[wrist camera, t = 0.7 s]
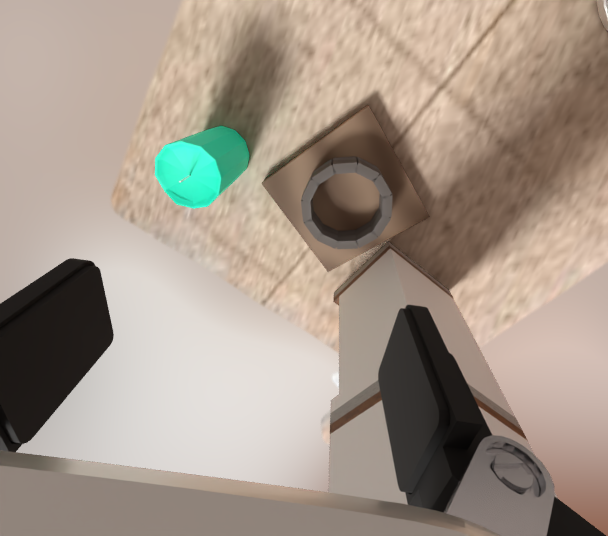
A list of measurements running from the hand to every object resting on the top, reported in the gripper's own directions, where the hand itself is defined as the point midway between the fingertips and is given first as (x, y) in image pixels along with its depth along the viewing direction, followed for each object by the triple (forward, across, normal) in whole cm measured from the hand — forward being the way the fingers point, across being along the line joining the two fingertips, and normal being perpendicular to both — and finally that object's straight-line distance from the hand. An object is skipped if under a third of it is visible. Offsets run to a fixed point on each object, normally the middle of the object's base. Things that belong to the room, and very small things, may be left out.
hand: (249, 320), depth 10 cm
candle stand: (+30, -6, +4) cm, 31 cm away
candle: (+31, +9, +1) cm, 32 cm away
